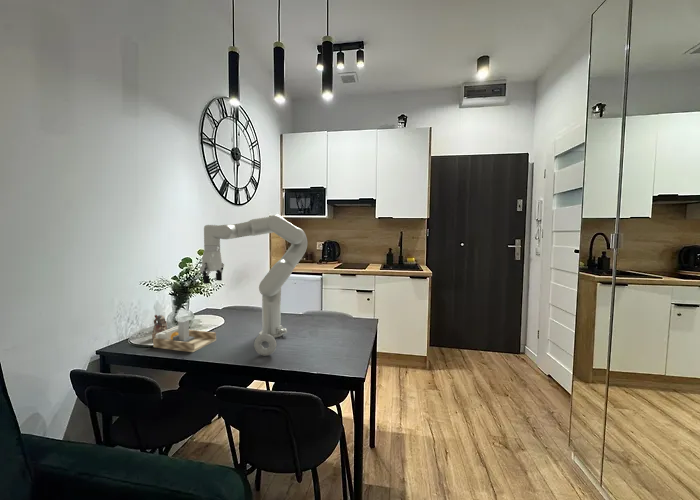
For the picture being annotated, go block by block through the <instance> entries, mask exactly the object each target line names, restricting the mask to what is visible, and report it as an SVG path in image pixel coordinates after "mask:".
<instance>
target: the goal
mask: <svg viewBox="0 0 700 500" xmlns="http://www.w3.org/2000/svg"><path fill="white" fill-rule="evenodd" d="M174 332H177V333H178V325H176V326H173V327H171V328H167V330H165V331H163V332H160V333H157V334H156V338H158V339H166V340H170V339H171V335H172V334H173V333H174Z"/></svg>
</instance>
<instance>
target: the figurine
mask: <svg viewBox="0 0 700 500" xmlns="http://www.w3.org/2000/svg"><path fill="white" fill-rule="evenodd" d="M153 323H154V324H153V328H152V334H151V335H152V336H151V339H152V340H153V339H154V338H156V334H157V333H160V332H163V331H165V330H168V322H167V320H166V317H165V316H164V315H163V314H159V315H157V314H155V315H154V320H153Z"/></svg>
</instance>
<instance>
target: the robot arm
mask: <svg viewBox="0 0 700 500" xmlns="http://www.w3.org/2000/svg"><path fill="white" fill-rule="evenodd" d="M273 233H274V234H275V235H277V236H278V237H280V238H281V239H283V240H285V241H287V242H288V243H290V245H289V247H288V249H287V250H286V252H285V253H284V254H283V255H282V256H281V258H280V259H279V260H278V261H276V262H275V263H274V264H273V266H272V267H271V268H270V270H269V271H268V272H266V273H267V274H266V275H265V276H264V277H263V279H262V280H261V281H260V282H259V285H258V291H259V293H260V294H261V299H262V300H261V324H262V326H261V330H260V331H259V333H258V336H259V335H261V334H270V335H272V336H273V337H274V338H275V339H276V338H279V337H282V336H283V335H284V334H287V333H288V328H287V327H286V328H284V327H283V325H281V323H282V321H281V318H282V317H281V315H282V314H281V313H282V311H281V304H282V303H281V302H282V301H281V300H282V298H281V296H282V286H284V284H285V283H286V282H287V280H288V279H289V277H290V276H291V275H292V273H293V271H294V269H295V268H296V267H297V265H299V262H300V261H301V259H302V258H303V257H304V255H305V253H306V251H307V248H308V238H307V235H306V232H305V231H304V230H303V229H302V228H300V227H299V226H298V227H297V226H296V225H294V224H292V223H291V222H289V221H288V220H286V219H285V218H284V217H283V216H281V214H280V215H279V214H273V215H271V216H264V217H259V218H253V219H250V220H248V221H245V222H240V223H234V224H220V225H217V224H206V225H204V227H203V248H204V249H203V254H202V259H201V260H202V261H201V266H200V267H199V269H200V273H201V275H202V278H203V279H202V280H203V281H202V283H203V284H205V285H209V284H210V273H211V272H216V273H215V281H218V282H219V281H220V282H221V281H222V280H223V270H224V266H225V263H223V262H222V254H221V240H232V239H238V238H244V237H251V236H252V237H253V236H256V237H257V236H260V235H265V234H273Z"/></svg>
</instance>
